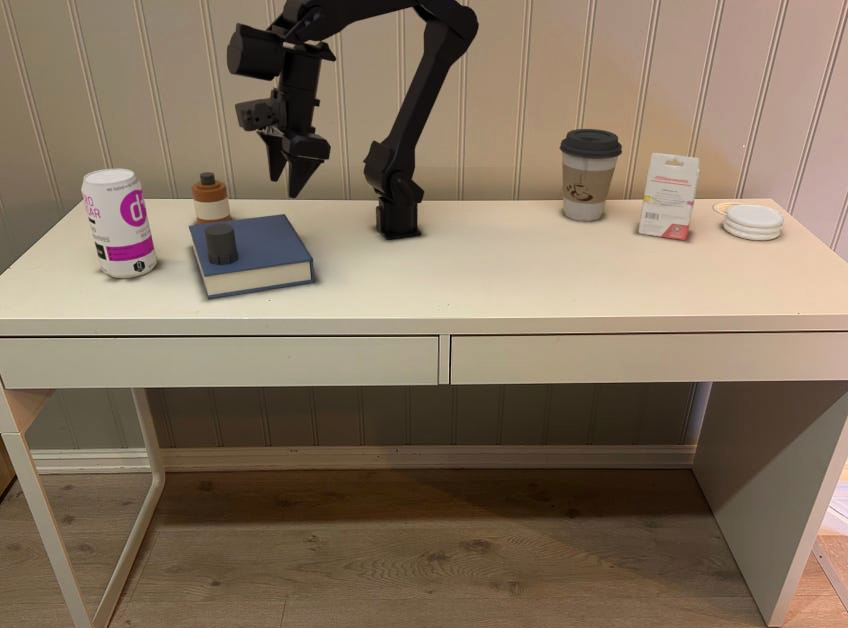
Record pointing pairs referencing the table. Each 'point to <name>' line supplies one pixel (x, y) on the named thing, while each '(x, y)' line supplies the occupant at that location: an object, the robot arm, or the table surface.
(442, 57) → the robot arm
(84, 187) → the supplement can
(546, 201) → the table surface
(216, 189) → the brown striped cylinder
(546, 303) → the table surface
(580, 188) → the coffee cup
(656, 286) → the table surface
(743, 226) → the white layered disc
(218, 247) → the cap
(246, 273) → the book
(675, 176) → the ink cartridge box
